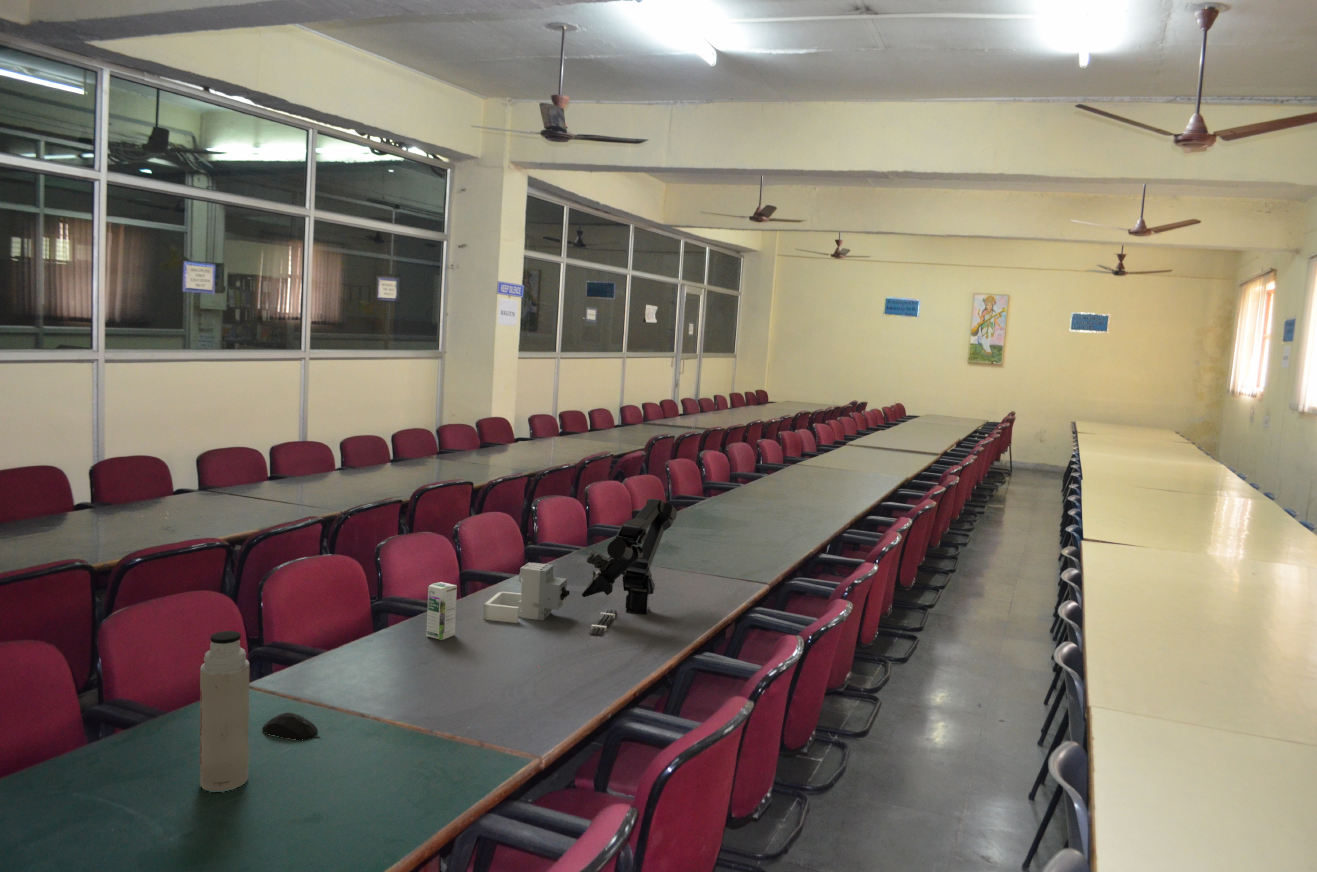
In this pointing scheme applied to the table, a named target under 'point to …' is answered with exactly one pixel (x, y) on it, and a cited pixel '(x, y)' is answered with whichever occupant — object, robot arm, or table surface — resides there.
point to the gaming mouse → (290, 727)
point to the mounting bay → (502, 607)
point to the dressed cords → (602, 626)
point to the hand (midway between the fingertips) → (582, 595)
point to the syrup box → (441, 610)
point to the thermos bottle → (224, 714)
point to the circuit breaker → (540, 591)
